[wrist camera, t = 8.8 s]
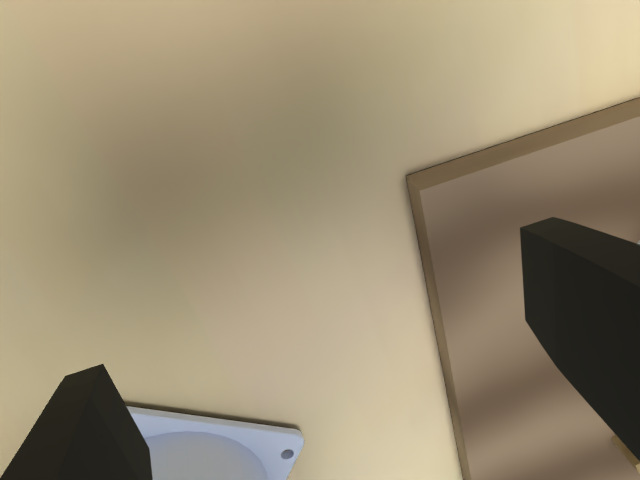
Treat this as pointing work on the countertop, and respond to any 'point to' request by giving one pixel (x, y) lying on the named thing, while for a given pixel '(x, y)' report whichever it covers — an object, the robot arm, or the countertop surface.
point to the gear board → (521, 292)
